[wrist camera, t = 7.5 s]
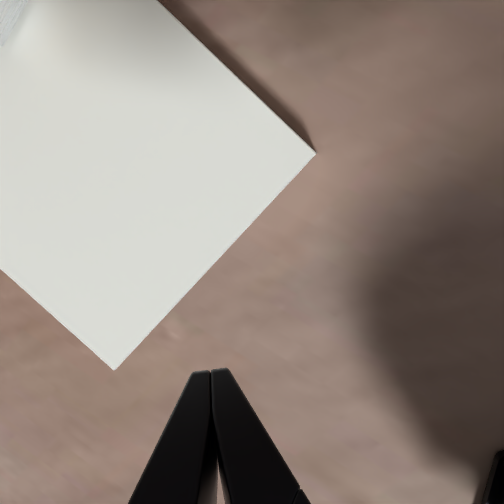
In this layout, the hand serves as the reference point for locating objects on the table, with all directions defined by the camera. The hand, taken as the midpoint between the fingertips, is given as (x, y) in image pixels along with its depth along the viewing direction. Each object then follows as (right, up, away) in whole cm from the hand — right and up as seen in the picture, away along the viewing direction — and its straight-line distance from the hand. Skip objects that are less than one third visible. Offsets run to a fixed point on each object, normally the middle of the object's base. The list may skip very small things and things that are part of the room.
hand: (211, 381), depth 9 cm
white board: (-9, +10, +12) cm, 18 cm away
